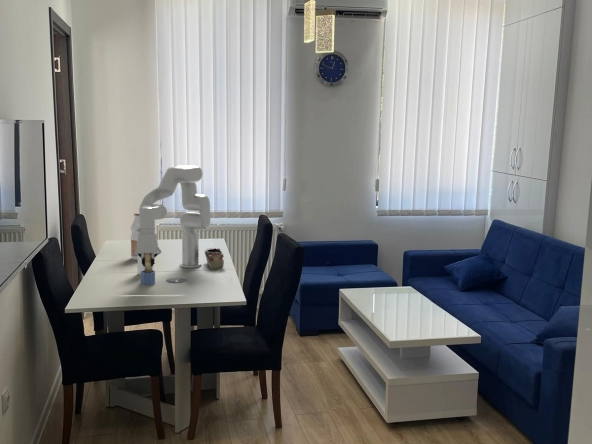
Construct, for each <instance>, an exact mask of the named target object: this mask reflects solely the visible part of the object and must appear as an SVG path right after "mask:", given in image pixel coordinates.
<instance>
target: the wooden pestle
mask: <svg viewBox="0 0 592 444" xmlns="http://www.w3.org/2000/svg"><path fill="white" fill-rule="evenodd" d="M144 259H145V273H151V272H152V266H151V259H152V254H151V253H144Z"/></svg>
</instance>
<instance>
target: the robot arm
mask: <svg viewBox="0 0 592 444" xmlns="http://www.w3.org/2000/svg"><path fill="white" fill-rule="evenodd" d="M202 178H203V169H202V168H201V167H200V166H197V165H183V164H179V165H174V166H171V167H168V168H167V169H166V170H165V173H164V175H163V177H162V178H161V181H160V183H159V185H158V187H156V188H154V189H152V190H151V191H150V192H149V193H147V194H146V195H145V196H144V198H143V199H142V200H141V203H140V206H139V209H138V213H139V218H140V228H138V229H137V231H139V232H140V233H139V234H138V240H137V249H136V250H135V252H134V253H135V254H137V255H138V256H139V257H140V258H141V259H142V264H143V266H145V259H144V253H151V254H152V259H151V266H153V267H154V265H155V264H156V263H155V260H156V259H155V258H156V257H158V255H160V254H162V250H161V249H160V247H159V244H158V243H159V242H158V235H157V233H156V226H155V225H156V224H155V223H156V221H155V220H163V219H164V218H166V216H167V212H168V210H167V208H166V207H165V205H162V204H155V203H156V202H158V201H160V200H164V199H168V198H170V197H171V196H173V195H174V193H175V191H176V189H177V186H178V184H179V185H180V187H181V204H182V208H183V209H184V210H187V211H186V212H183V213H182V214H181V216H180V218H179V222H180V227H181V228H180V229H181V248H182V249H181V251H182V252H181V259H182V260H181V262H180V263H179V267H181V268H185V269H187V268H188V269H194V268H199V267H201V266H202V262H200V260H199V258H200V253H199V251H200V249H199V247H200V246H199V241H200V240H199V239H200V238H199V234H198V231H197V230H202V231H206V230H208V229H209V228H210V226H211V202H210V198H209V197H208V196H207V195H205V194H199V193H198V190H197V184H196V183H197V182H199V181H200V180H201V179H202ZM193 211H195V212H193Z"/></svg>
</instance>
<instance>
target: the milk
mask: <svg viewBox="0 0 592 444" xmlns="http://www.w3.org/2000/svg"><path fill="white" fill-rule="evenodd" d="M137 259H138V260H137V274H138V275H141V271H143V270H145V266H143V264H142V259H141V258H140V257H139V256H138V255H137ZM152 270H154V265H153V266H152Z"/></svg>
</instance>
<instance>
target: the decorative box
mask: <svg viewBox="0 0 592 444" xmlns="http://www.w3.org/2000/svg"><path fill="white" fill-rule="evenodd" d="M204 254H205V255H204V256H205V258H206V263H207V265H208V266H209V268H210V270H213V269H215V270H219V269H222V268H224V265H225V260H224V253H223V249H221V248H219V247H216V248H215V247H211V248H206V249H205V250H204Z"/></svg>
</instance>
